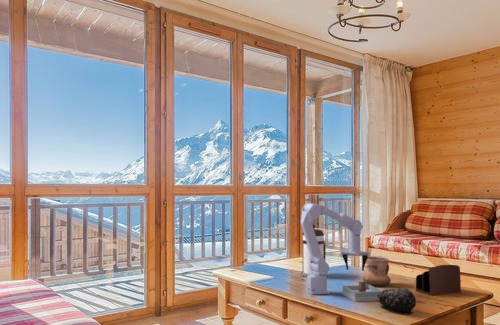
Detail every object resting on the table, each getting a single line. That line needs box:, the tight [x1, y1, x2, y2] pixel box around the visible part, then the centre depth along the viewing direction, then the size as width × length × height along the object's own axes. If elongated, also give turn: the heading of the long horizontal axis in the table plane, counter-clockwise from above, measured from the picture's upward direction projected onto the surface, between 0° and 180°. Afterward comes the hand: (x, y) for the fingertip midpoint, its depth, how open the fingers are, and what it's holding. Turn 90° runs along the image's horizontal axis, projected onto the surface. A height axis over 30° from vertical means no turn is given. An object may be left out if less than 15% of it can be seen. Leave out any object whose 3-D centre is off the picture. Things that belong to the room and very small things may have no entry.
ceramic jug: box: [361, 255, 392, 287], centre depth 226 cm, size 18×14×14 cm
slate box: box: [342, 284, 383, 303], centre depth 200 cm, size 14×14×4 cm
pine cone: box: [377, 287, 417, 315], centre depth 179 cm, size 10×18×10 cm, turn 39°
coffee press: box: [300, 224, 326, 277], centre depth 248 cm, size 17×16×30 cm
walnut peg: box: [358, 280, 367, 292], centre depth 200 cm, size 3×3×7 cm
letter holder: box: [415, 264, 462, 296], centre depth 211 cm, size 10×20×14 cm, turn 112°
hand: (355, 270), depth 214 cm, fingers open, 7 cm apart
